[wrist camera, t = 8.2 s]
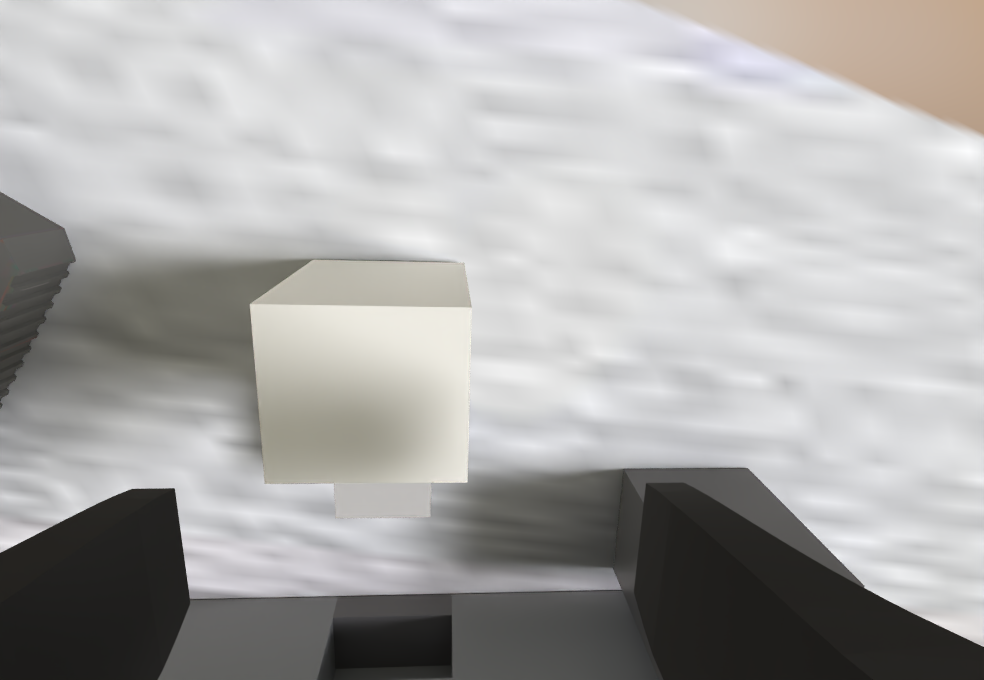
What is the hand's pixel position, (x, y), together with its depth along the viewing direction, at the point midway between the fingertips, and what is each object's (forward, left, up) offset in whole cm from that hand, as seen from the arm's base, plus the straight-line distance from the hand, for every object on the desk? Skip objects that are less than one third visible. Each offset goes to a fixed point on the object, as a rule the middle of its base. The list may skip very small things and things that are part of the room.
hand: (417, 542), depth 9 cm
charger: (-1, +1, -10) cm, 10 cm away
